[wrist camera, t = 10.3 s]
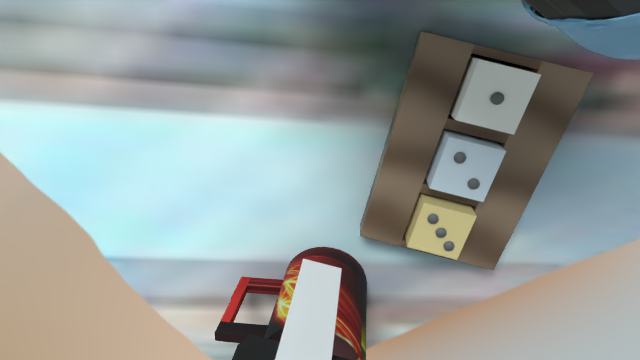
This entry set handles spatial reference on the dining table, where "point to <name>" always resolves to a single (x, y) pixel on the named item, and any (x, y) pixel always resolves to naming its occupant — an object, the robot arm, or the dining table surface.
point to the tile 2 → (493, 95)
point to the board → (433, 115)
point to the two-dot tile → (464, 165)
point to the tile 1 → (439, 226)
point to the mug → (349, 306)
